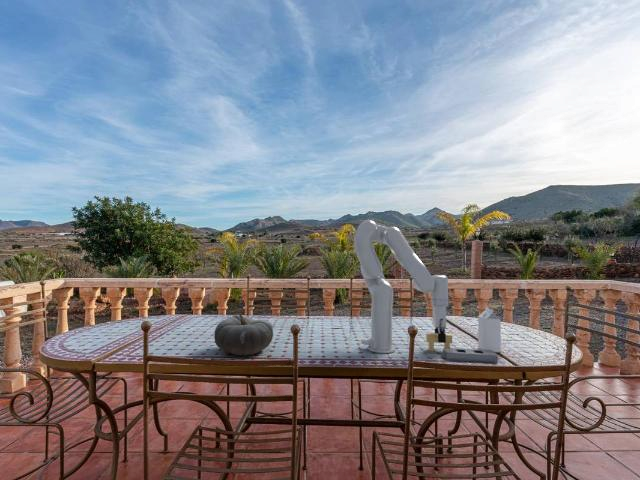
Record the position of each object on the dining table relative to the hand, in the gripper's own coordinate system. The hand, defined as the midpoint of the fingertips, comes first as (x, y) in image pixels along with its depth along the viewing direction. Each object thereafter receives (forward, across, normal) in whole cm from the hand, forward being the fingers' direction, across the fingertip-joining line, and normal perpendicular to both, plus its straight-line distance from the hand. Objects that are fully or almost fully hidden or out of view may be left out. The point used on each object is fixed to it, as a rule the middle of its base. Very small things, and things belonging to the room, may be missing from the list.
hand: (440, 339), depth 168 cm
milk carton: (+6, -5, +22) cm, 24 cm away
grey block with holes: (+5, +10, +10) cm, 15 cm away
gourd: (+3, +19, -87) cm, 89 cm away
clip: (+5, 0, -1) cm, 5 cm away
